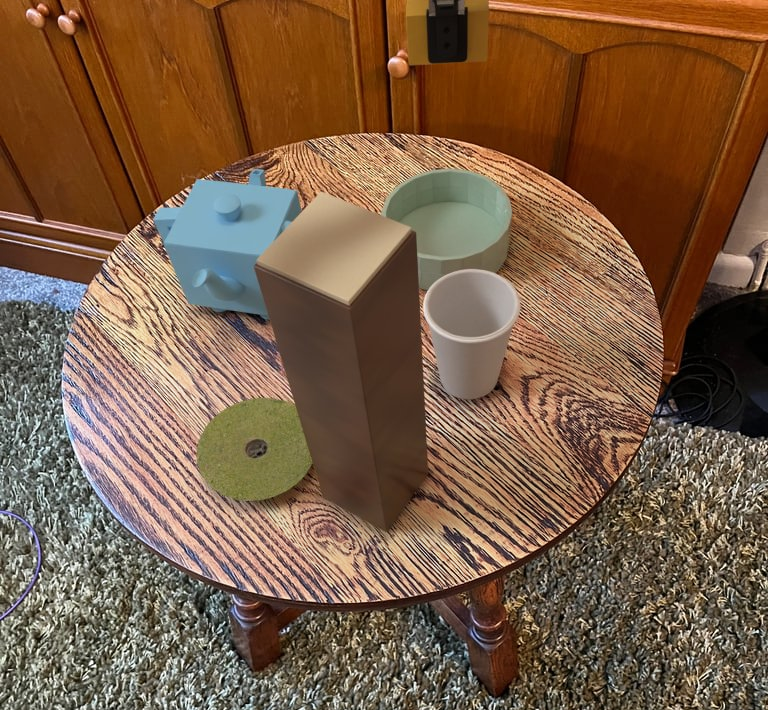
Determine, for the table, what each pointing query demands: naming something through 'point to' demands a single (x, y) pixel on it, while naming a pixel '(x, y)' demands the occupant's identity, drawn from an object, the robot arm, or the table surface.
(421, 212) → the bowl
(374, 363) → the stand
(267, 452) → the mat
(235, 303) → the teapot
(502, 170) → the table surface
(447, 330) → the dixie cup
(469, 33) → the yellow rectangular block
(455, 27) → the robot arm
